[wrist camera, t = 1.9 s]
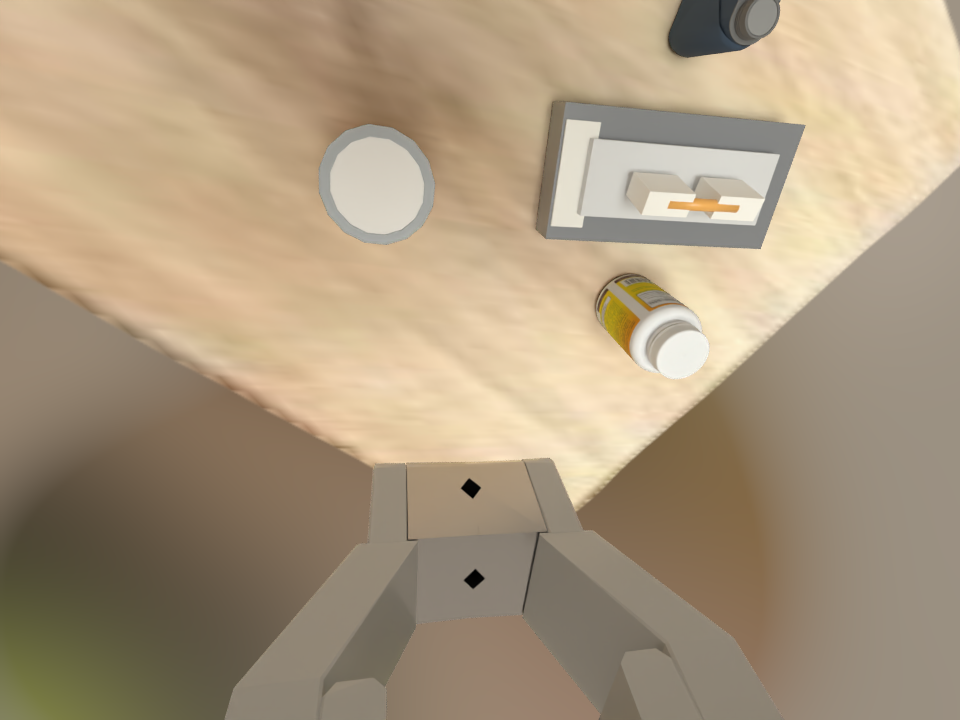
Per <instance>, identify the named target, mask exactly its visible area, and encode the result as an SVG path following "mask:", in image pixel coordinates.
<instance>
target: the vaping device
mask: <svg viewBox="0 0 960 720" xmlns="http://www.w3.org/2000/svg"><path fill="white" fill-rule="evenodd" d="M779 2H780V0H682V3H681V5H680V8H679V10H678V13H677V15H676V18H675V20H674V23H673V25H672V28H671V30H670V33H669V43H670V46H671V48H672V49H673V50H674V51H675V52H676V53H677V54H678V55H680V56H683V57H687V58H688V57H695V56H703V55H710V54H717V53H725V52H732V51H739V50H742V49H744V48H747V47H748V46H750V45H751V44H754V43H756V42H757V41H759V40H760V39H761V38H763V37H765V36H767V35H768V34H770V33H771V32H772V30H773V29H774V28H775V26H776V24H777V22H778V19H779V15H780V5H779Z"/></svg>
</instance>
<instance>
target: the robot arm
mask: <svg viewBox="0 0 960 720" xmlns="http://www.w3.org/2000/svg"><path fill="white" fill-rule="evenodd" d="M510 615H523V619H524V620H525V621H526V622H527V624H528V625H529V626H530V627H531V629H532V630H533V631H534V632H535V634H536V635H537V636H538V637H539V639H540V640H541V641H542V642H543V643H544V645H545V646H546V647H547V648H548V650H549V651H550V652H551V653H552V655H553V656H554V657H555V658H556V659H557V661H558V662H559V663H560V664H561V666H562V667H563V668H564V669H565V671H566V672H567V673H568V674H569V676H570V677H571V678H572V679H573V680H574V682H575V683H576V684H577V685H578V687H579V688H580V689H581V690H582V691H583V693H584V694H585V695H586V696H587V698H588V699H589V700H590V701H591V703H592V704H593V705H594V706H595V707H596V709H597V710H598V711H599V712H600V714H601V715H600V718H599V720H784V719H783V717H782V715H781V714H780V712H779V710H778V709H777V707H776V706H775V704H774V702H773V701H772V699H771V697H770V696H769V694H768V693H767V691H766V689H765V688H764V686H763V684H762V683H761V681H760V680H759V678H758V676H757V675H756V673H755V672H754V670H753V668H752V667H751V665H750V664H749V662H748V660H747V659H746V657H745V655H744V654H743V652H742V651H741V649H740V647H739V646H738V644H737V642H736V641H735V639H734V638H733V637H732V636H730V635H729V634H728V633H726V632H725V631H724V630H723V629H721V628H720V627H719V626H717V625H716V624H715V623H713V622H712V621H711V620H709V619H708V618H707V617H706V616H704V615H703V614H702V613H700V612H699V611H698V610H696V609H695V608H694V607H692V606H691V605H690V604H688V603H687V602H686V601H684V600H683V599H682V598H680V597H679V596H678V595H677V594H675V593H674V592H673V591H671V590H670V589H669V588H667V587H666V586H665V585H663V584H662V583H661V582H659V581H658V580H657V579H656V578H654V577H653V576H652V575H650V574H649V573H648V572H646V571H645V570H644V569H642V568H641V567H640V566H639V565H637V564H636V563H635V562H633V561H632V560H631V559H629V558H628V557H627V556H625V555H624V554H623V553H621V552H620V551H619V550H617V549H616V548H615V547H614V546H612V545H611V544H610V543H608V542H607V541H605V540H604V539H603V538H602V537H600V536H599V535H598V534H596V533H595V532H594V531H592V530H591V531H583V528H582V526H581V524H580V522H579V519H578V517H577V514H576V512H575V510H574V507H573V505H572V503H571V501H570V498H569V496H568V494H567V491H566V489H565V487H564V484H563V482H562V480H561V477H560V475H559V473H558V470H557V468H556V466H555V463H554V461H552V460H551V459H550V458H539V459H522V460H509V461H484V462H427V463H406V464H405V463H378V464H375V465H374V469H373V477H372V492H371V505H370V517H369V531H368V543H366V544H357V545H356V546H355V548H354V549H353V550H352V551H351V552H350V553H349V555H348V556H347V557H346V558H345V559H344V561H343V562H342V563H341V564H340V565H339V566H338V567H337V569H336V570H335V571H334V572H333V574H332V575H331V576H330V577H329V578H328V579H327V580H326V581H325V583H324V584H323V585H322V586H321V587H320V589H319V590H318V591H317V592H316V593H315V594H314V595H313V597H312V598H311V599H310V600H309V601H308V602H307V604H306V605H305V606H304V607H303V608H302V609H301V611H300V612H299V613H298V614H297V615H296V617H295V618H294V619H293V620H292V621H291V622H290V623H289V624H288V626H287V627H286V628H285V629H284V630H283V631H282V633H281V634H280V635H279V636H278V637H277V638H276V640H275V641H274V642H273V643H272V644H271V645H270V647H269V648H268V649H267V650H266V651H265V653H264V654H263V655H262V656H261V657H260V658H259V660H258V661H257V662H256V663H255V664H254V665H253V667H252V668H251V669H250V670H249V671H248V672H247V673H246V675H245V676H244V677H243V678H242V679H241V680H240V682H239V683H238V684H237V685H236V686H235V687H234V689H233V693H232V696H231V699H230V703H229V706H228V710H227V713H226V717H225V720H387V695H386V694H387V692H386V688H385V686H386V684H387V682H388V680H389V678H390V676H391V674H392V672H393V671H394V669H395V666H396V665H397V663H398V661H399V659H400V657H401V655H402V653H403V651H404V649H405V648H406V646H407V644H408V642H409V640H410V638H411V636H412V634H413V632H414V630H415V628H416V624H421V623H429V622H438V621H446V620H455V619H464V618H474V617H475V618H476V617H493V616H510Z"/></svg>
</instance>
